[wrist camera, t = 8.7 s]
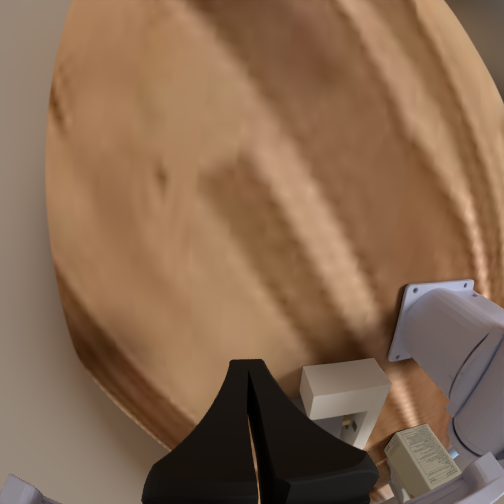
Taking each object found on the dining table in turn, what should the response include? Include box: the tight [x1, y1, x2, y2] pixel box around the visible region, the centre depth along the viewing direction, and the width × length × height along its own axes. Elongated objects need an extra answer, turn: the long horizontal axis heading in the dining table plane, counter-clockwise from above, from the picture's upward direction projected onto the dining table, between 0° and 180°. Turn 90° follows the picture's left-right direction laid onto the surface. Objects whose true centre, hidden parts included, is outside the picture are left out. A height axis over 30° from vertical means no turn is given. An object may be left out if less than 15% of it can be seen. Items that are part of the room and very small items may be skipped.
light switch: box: [387, 459, 410, 504], centre depth 28 cm, size 2×12×8 cm, turn 22°
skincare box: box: [384, 424, 462, 499], centre depth 23 cm, size 6×4×12 cm
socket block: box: [299, 358, 392, 450], centre depth 23 cm, size 7×13×4 cm, turn 179°
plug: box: [290, 398, 351, 439], centre depth 24 cm, size 7×5×4 cm
